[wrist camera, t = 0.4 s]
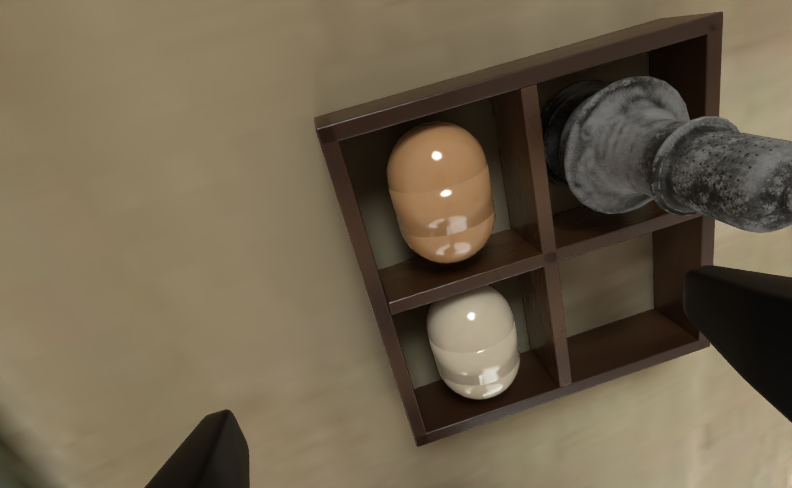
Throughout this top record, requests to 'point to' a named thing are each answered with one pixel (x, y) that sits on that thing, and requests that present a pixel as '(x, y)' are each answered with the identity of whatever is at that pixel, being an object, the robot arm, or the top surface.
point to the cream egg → (474, 342)
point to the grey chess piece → (663, 156)
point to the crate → (541, 227)
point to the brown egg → (441, 191)
